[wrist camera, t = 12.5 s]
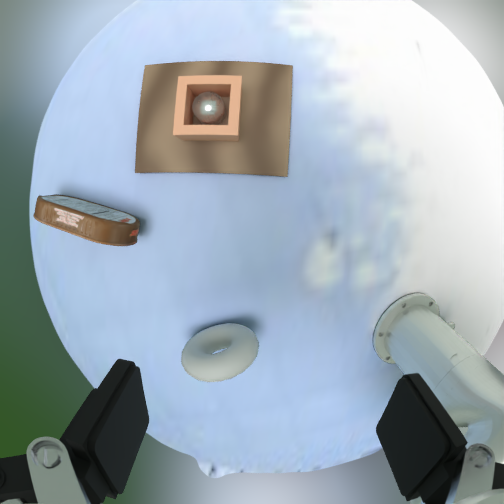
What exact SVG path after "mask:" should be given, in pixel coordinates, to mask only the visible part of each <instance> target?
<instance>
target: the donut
mask: <svg viewBox="0 0 504 504" xmlns="http://www.w3.org/2000/svg"><path fill="white" fill-rule="evenodd" d="M224 348H227V349H225V350H223V351H221V352H219V353H215V354H212V353H214V352H216V351H218V350H221V349H224ZM258 348H259V342H258V340H257V337H256V335H255V333H254V332H253V331H251V330H250V329H249V328H248V327H246V326H243V325H239V324H233V323H226V324H220V325H216V326H213V327H209V328H207V329H205V330H203V331H201V332H199V333H198V334H196V335H195V336H193V337H192V338H191V339H190V340H189V341H188V342H187V343H186V345H185V347H184V349H183V351H182V357H181V362H182V365H183V367H184V369H185V371H186V372H187V373H188V374H189V375H190V376H192V377H194V378H195V379H197V380H200V381H205V382H218V381H224V380H227V379H231V378H233V377H235V376H237V375H239V374H241V373H242V372H244V371H245V370H246V369H247V368H248V367H249V366H250V365H251V364H252V363H253V361H254V360H255V358H256V357H257V354H258Z"/></svg>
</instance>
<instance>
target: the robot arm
mask: <svg viewBox="0 0 504 504" xmlns="http://www.w3.org/2000/svg"><path fill="white" fill-rule="evenodd" d="M454 328H455V324H454V322H448V323H446V322H445V321H444V320H442V319H441V318H440V313H439V308H438V306H437V304H436V302H435V301H434V300H433V299H432V298H430V297H429V296H427V295H425V294H421V293H414V294H410V295H407V296H405V297H402V298H401V299H399V300H398V301H396V302H395V303H394V304H392V305H391V306H390V307H389V308H388V309H387V310H386V311H385V313H384V314H383V315H382V317H381V318H380V320H379V322H378V324H377V326H376V329H375V332H374V337H373V345H374V349H375V351H376V353H377V355H378V356H379V357H380V358H381V359H382V360H383V361H384V362H387V363H391V364H397V365H398V367H399V368H400V370H401V371H402V372H403V374H404V375H403V377H402V378H401V379H399V381H398V383H397V385H396V387H395V389H394V392H393V394H392V396H391V398H390V400H389V402H388V405H387V407H386V409H385V411H384V413H383V415H382V417H381V419H380V421H379V422H378V424H377V427H376V433H377V435H378V438H379V440H380V443H381V445H382V447H383V450H384V452H385V455H386V457H387V460H388V462H389V464H390V467H391V469H392V472H393V474H394V477H395V479H396V482H397V484H398V487H399V490H400V492H401V494H402V495H403V496H405V497H406V500H407V501H410V503H411V504H504V375H503V374H502V373H501V372H500V371H499V370H498V369H496V368H495V367H494V366H493V365H492V364H491V363H490V362H489V361H488V360H486V358H484V357H483V356H482V355H481V354H480V353H479V352H478V351H477V350H476V349H475V348H473V347H472V346H471V345H470V344H469V343H468V342H467V341H466V340H465V339H463V338H462V337H461V336H460V335H459V334H458V333H457V332H455V331H454ZM148 424H149V415H148V410H147V406H146V401H145V396H144V390H143V385H142V379H141V373H140V368H139V367H137V366H136V365H135V363H134V362H132V361H127V360H123V359H118V360H117V361H116V362H115V364H114V365H113V366H112V368H111V369H110V371H109V372H108V374H107V375H106V377H105V378H104V380H103V381H102V383H101V384H100V386H99V387H98V388H97V389H96V388H95V389H93V390H92V391H91V392H90V394H89V395H88V397H87V399H86V400H85V401H84V403H83V404H82V406H81V407H80V409H79V410H78V412H77V413H76V415H75V416H74V418H73V419H72V421H71V422H70V424H69V426H68V427H67V429H66V430H65V432H64V434H63V435H62V437H61V438H60V440H57V439H55V438H52V437H41V438H38V439H36V440H34V441H32V442H31V444H30V445H29V446H28V449H27V454H24V455H19V456H13V457H6V458H0V504H102V503H103V502H104V499H105V497H106V496H107V497H110V498H113V499H116V497H117V494H118V493H119V494H122V493H123V491H124V489H125V486H126V483H127V480H128V477H129V475H130V472H131V469H132V467H133V464H134V461H135V459H136V456H137V453H138V451H139V448H140V445H141V443H142V440H143V437H144V435H145V432H146V430H147V427H148ZM458 427H468V431H467V432H466V434H465V435H464V436H463V434H462V433H461V431H460V430H459V428H458Z"/></svg>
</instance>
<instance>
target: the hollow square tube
mask: <svg viewBox="0 0 504 504" xmlns="http://www.w3.org/2000/svg"><path fill="white" fill-rule="evenodd" d="M203 92H214V93H217V94H218V95H219V96H220V97H230V105H229V119H228V125H193V116H194V113H193V110H192V104H193V101H194V99H195V97H197V96H198V95H199V94H201V93H203ZM241 100H242V76H233V75H196V76H178V84H177V93H176V103H175V114H174V127H173V135H174V136H176V137H178V138H180V139H181V140H183V141H239V131H240V115H241Z"/></svg>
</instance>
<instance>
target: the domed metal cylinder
mask: <svg viewBox="0 0 504 504" xmlns="http://www.w3.org/2000/svg"><path fill="white" fill-rule="evenodd" d="M192 110H193V113H194V114H195V116H196V117H197V118H198V119H199V120H200V122H201V123H202V124H204V125H219V124H221V123H222V122H223V121H224V119H225V116H226V110H225V107H224V103H223V100H222V98H221V97H220V96H219V95H218V94H217V93H214V92H203V93H201V94H199V95H198V96H197V97H196V98H195V99H194V101H193V104H192Z"/></svg>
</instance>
